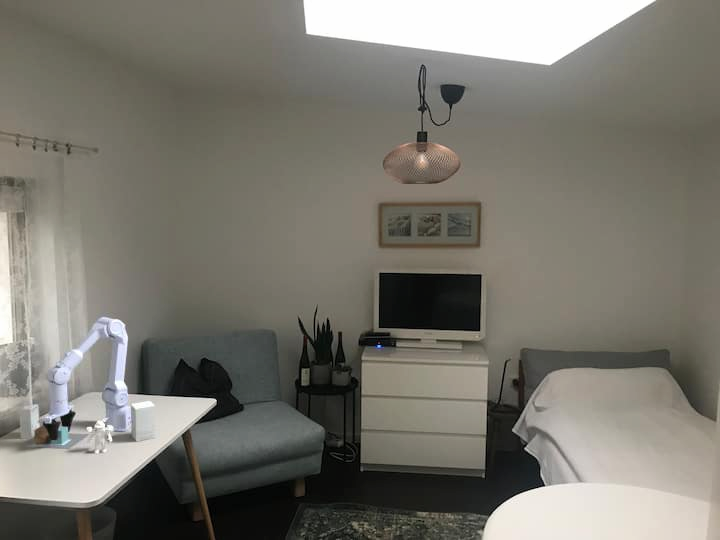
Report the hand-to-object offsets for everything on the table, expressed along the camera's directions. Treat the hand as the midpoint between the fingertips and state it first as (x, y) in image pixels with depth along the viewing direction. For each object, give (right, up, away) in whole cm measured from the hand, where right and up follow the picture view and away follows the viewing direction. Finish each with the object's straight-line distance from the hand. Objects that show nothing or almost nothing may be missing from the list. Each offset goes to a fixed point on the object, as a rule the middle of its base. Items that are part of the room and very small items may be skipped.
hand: (60, 435), depth 209 cm
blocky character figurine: (+17, -4, -5) cm, 18 cm away
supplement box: (+27, -3, +9) cm, 29 cm away
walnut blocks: (-6, -2, +3) cm, 7 cm away
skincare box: (-15, -3, +7) cm, 16 cm away
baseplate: (-1, -3, +2) cm, 4 cm away
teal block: (0, -2, 0) cm, 2 cm away
